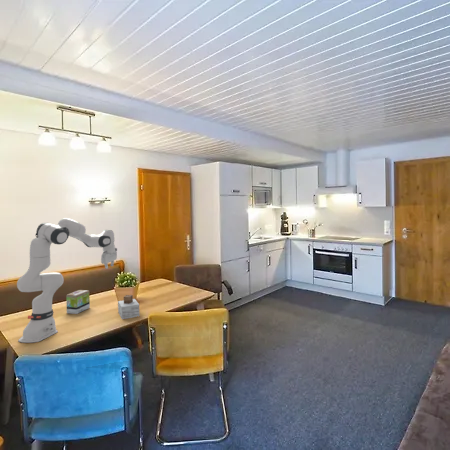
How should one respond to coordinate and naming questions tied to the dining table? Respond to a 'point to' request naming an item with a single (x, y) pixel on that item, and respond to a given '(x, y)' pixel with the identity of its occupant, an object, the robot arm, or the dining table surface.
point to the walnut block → (128, 299)
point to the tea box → (78, 301)
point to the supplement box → (128, 309)
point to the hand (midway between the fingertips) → (109, 267)
